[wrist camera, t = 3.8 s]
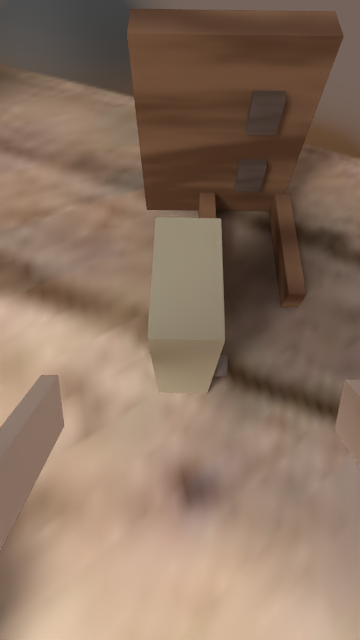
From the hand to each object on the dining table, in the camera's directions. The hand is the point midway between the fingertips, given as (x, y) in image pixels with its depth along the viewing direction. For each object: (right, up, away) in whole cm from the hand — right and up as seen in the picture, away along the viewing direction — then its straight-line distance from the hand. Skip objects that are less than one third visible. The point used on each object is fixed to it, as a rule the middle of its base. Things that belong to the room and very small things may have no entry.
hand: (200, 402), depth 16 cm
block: (-1, +1, +14) cm, 14 cm away
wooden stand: (+3, +12, +19) cm, 22 cm away
